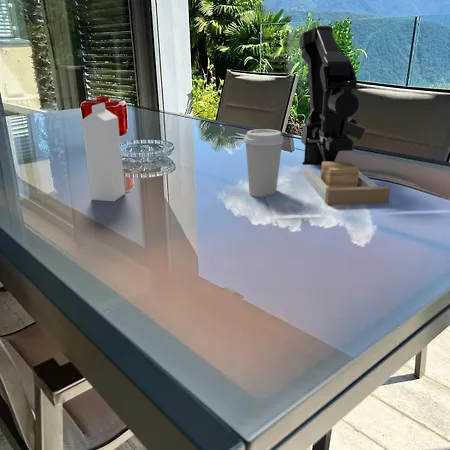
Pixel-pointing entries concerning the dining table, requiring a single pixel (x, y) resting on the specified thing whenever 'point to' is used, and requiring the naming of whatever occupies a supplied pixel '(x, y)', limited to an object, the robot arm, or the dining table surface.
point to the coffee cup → (263, 160)
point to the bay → (348, 191)
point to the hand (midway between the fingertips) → (328, 169)
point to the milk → (103, 154)
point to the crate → (339, 174)
